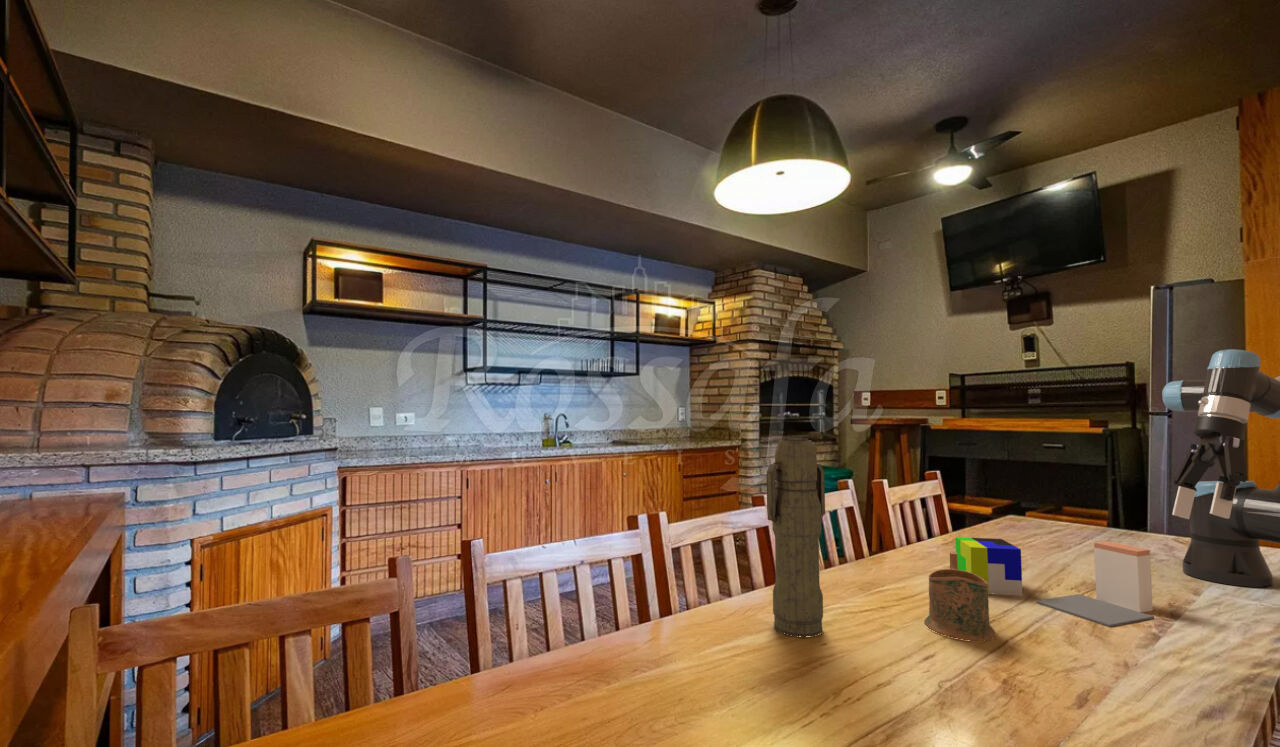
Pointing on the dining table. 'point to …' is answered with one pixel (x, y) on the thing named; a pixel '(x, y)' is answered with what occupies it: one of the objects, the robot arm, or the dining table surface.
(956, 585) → the brown hat
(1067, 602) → the mat
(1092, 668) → the dining table surface
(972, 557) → the puzzle toy
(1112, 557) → the tall block
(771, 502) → the robed figure statue
